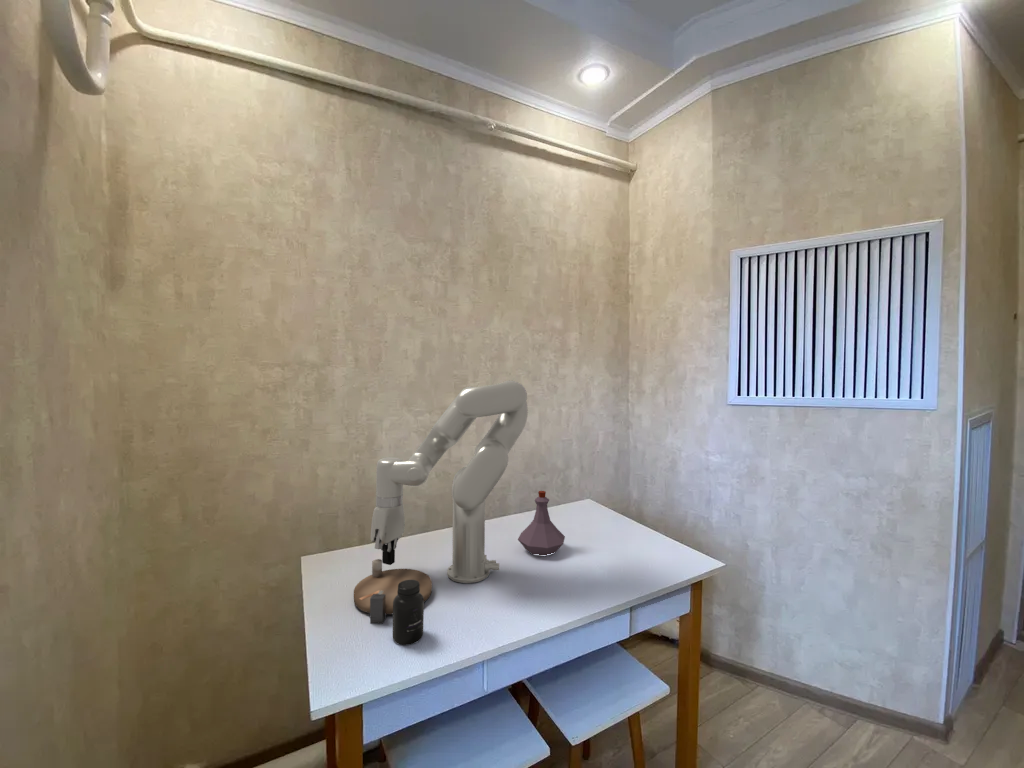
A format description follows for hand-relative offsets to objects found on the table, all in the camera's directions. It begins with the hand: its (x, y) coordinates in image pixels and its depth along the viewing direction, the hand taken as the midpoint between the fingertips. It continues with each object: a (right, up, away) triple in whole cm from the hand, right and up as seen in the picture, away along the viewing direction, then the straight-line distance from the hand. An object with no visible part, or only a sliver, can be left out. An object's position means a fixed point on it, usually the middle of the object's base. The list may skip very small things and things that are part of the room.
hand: (388, 563), depth 125 cm
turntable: (+4, -4, -11) cm, 12 cm away
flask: (+46, -4, +19) cm, 50 cm away
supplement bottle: (+13, -5, -28) cm, 31 cm away
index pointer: (+4, -5, -22) cm, 23 cm away
